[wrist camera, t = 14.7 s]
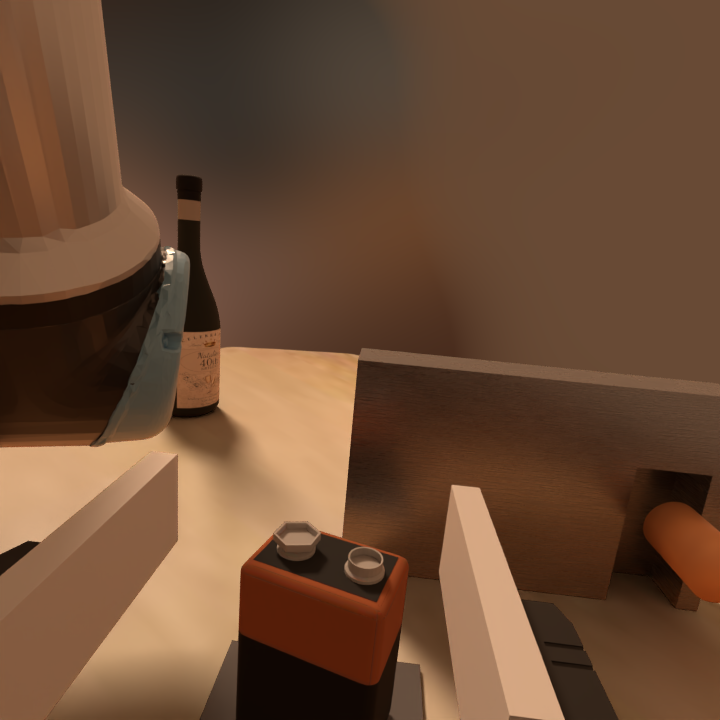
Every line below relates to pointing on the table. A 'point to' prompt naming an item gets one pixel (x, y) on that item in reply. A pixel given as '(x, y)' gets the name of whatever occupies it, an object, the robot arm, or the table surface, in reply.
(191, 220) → the wine bottle
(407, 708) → the mat
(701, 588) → the orange rounded cylinder
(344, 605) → the battery
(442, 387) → the panel
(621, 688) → the table surface
